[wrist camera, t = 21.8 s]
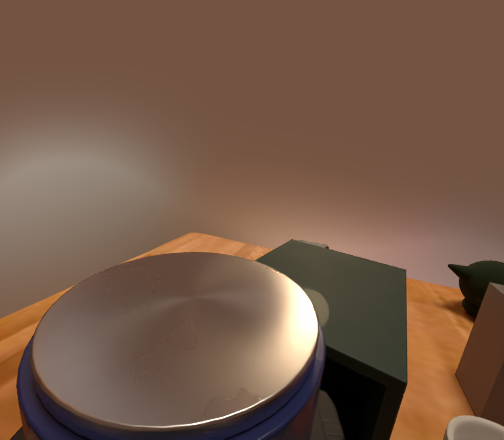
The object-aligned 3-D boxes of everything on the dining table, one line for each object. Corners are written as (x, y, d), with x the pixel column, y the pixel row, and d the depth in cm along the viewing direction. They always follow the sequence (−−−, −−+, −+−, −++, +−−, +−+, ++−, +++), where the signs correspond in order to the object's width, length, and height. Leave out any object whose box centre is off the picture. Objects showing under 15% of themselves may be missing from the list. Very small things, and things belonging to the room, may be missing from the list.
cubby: (340, 595, 15) (407, 383, 11) (195, 457, 21) (205, 288, 17) (370, 398, 27) (406, 269, 24) (275, 348, 33) (292, 238, 29)
